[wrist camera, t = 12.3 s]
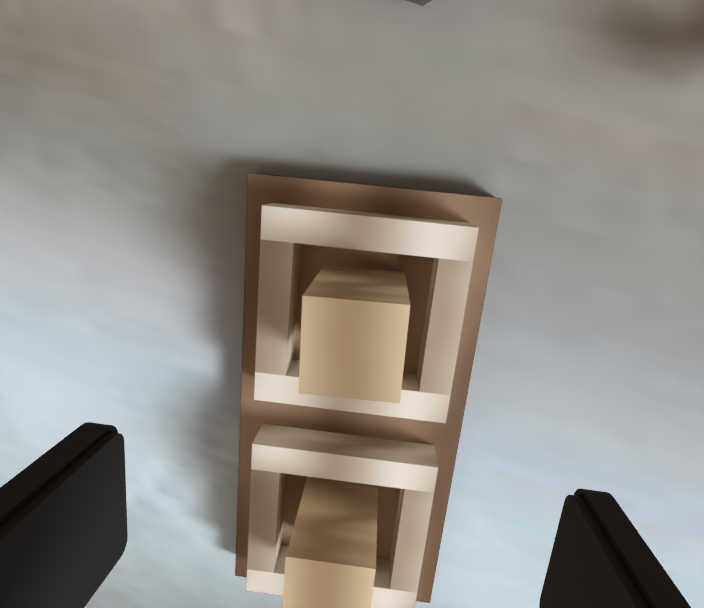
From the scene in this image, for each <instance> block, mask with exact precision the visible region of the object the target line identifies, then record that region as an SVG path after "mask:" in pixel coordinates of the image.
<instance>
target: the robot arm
mask: <svg viewBox="0 0 704 608" xmlns="http://www.w3.org/2000/svg"><path fill="white" fill-rule="evenodd" d="M126 543H127V510H126V482H125V453H124V437H123V435H122V434H118V431H117V429H116V427H114V426H112V425H104V424H97V423H84V424H82V425H81V426H80V427H78V428H77V429H76V430H74V431H73V432H72V433H71V434H69V435H68V436H67V437H65V438H64V439H63V440H62V441H60V442H59V443H58V444H56V445H55V446H54V447H52V448H51V449H50V450H49V451H47V452H46V453H45V454H43V455H42V456H41V457H40V458H38V459H37V460H36V461H34V462H33V463H32V464H31V465H29V466H28V467H27V468H25V469H24V470H23V471H21V472H20V473H19V474H18V475H16V476H15V477H14V478H12V479H11V480H10V481H9V482H7V483H6V484H5V485H3V486H2V487H1V488H0V608H84V607H85V606H86V604H87V603H88V601H89V600H90V599H91V597H92V596H93V595H94V593H95V592H96V590H97V589H98V588H99V586H100V585H101V584H102V582H103V581H104V580H105V578H106V577H107V575H108V574H109V573H110V571H111V570H112V569H113V567H114V566H115V564H116V563H117V562H118V560H119V559H120V557H121V556H122V554H123V552H124V550H125V547H126ZM540 608H691V607H690V606H689V604H688V603H687V601H686V600H685V598H684V597H683V596H682V594H681V593H680V591H679V590H678V588H677V587H676V586H675V584H674V583H673V581H672V580H671V579H670V577H669V576H668V574H667V573H666V571H665V570H664V569H663V567H662V566H661V564H660V563H659V561H658V560H657V559H656V557H655V556H654V554H653V553H652V551H651V550H650V549H649V547H648V546H647V544H646V543H645V541H644V540H643V539H642V537H641V536H640V534H639V533H638V532H637V530H636V529H635V527H634V526H633V524H632V523H631V522H630V520H629V519H628V517H627V516H626V514H625V513H624V512H623V510H622V509H621V507H620V506H619V504H618V503H617V502H616V500H615V499H614V497H613V496H612V495H611V494H610V493H607V492H600V491H593V490H586V489H578V490H576V492H575V493H574V495H568V496H567V497H566V499H565V502H564V506H563V510H562V514H561V518H560V522H559V526H558V530H557V534H556V537H555V541H554V545H553V549H552V553H551V557H550V561H549V565H548V569H547V573H546V577H545V581H544V585H543V589H542V593H541V597H540Z"/></svg>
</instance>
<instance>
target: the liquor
mask: <svg viewBox="0 0 704 608" xmlns="http://www.w3.org/2000/svg"><path fill="white" fill-rule="evenodd" d="M407 1H410V2H413V3H416V4H419V5H422V6H423V5H425V4H426V3H428V2H430V1H431V0H407Z"/></svg>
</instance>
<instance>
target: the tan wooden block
mask: <svg viewBox="0 0 704 608" xmlns="http://www.w3.org/2000/svg"><path fill="white" fill-rule="evenodd" d="M409 314H410V299H409V294H408V288H407V282H406V276H405V272H398V271H386V270H374V269H362V268H350V267H338V266H326V265H324V266H323V267H322V269H321V270H320V272H319V273H318V274H317V276H316V277H315V279H314V280H313V281H312V283H311V284H310V286H309V287H308V289H307V290H306V291H305V293H304V294H303V296H302V318H301V342H300V366H299V390H298V393H299V394H309V395H319V396H329V397H339V398H349V399H360V400H370V401H380V402H390V403H400V397H401V388H402V379H403V370H404V360H405V351H406V342H407V333H408V323H409Z"/></svg>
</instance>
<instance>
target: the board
mask: <svg viewBox="0 0 704 608" xmlns="http://www.w3.org/2000/svg"><path fill="white" fill-rule="evenodd" d="M501 204H502V199H501V198H496V197H488V196H478V195H468V194H458V193H448V192H438V191H428V190H418V189H408V188H398V187H387V186H377V185H367V184H357V183H347V182H337V181H327V180H317V179H307V178H297V177H287V176H277V175H267V174H257V173H248V189H247V220H246V252H245V283H244V315H243V347H242V378H241V410H240V441H239V473H238V504H237V536H236V568H235V576H242V577H247V585H246V590H247V591H254V592H261V593H268V594H275V595H282V596H283V604H282V608H415V603H416V601H420V602H427V603H430V599H431V593H432V588H433V582H434V577H435V571H436V566H437V560H438V554H439V549H440V543H441V538H442V532H443V527H444V521H445V515H446V510H447V504H448V499H449V493H450V488H451V482H452V477H453V471H454V465H455V460H456V454H457V449H458V443H459V438H460V432H461V426H462V421H463V415H464V410H465V404H466V399H467V393H468V388H469V382H470V376H471V371H472V365H473V360H474V354H475V349H476V343H477V337H478V332H479V326H480V321H481V315H482V310H483V304H484V298H485V293H486V287H487V282H488V276H489V271H490V265H491V260H492V254H493V248H494V243H495V237H496V232H497V226H498V221H499V215H500V209H501ZM324 265H326V266H338V267H350V268H362V269H374V270H386V271H398V272H405V276H406V282H407V288H408V294H409V299H410V314H409V323H408V333H407V342H406V351H405V360H404V370H403V379H402V388H401V397H400V403H390V402H380V401H370V400H360V399H349V398H339V397H329V396H319V395H309V394H299V393H298V390H299V366H300V342H301V318H302V296H303V294H304V293H305V291H306V290H307V289H308V287H309V286H310V284H311V283H312V281H313V280H314V279H315V277H316V276H317V274H318V273H319V272H320V270H321V269H322V267H323V266H324Z"/></svg>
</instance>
